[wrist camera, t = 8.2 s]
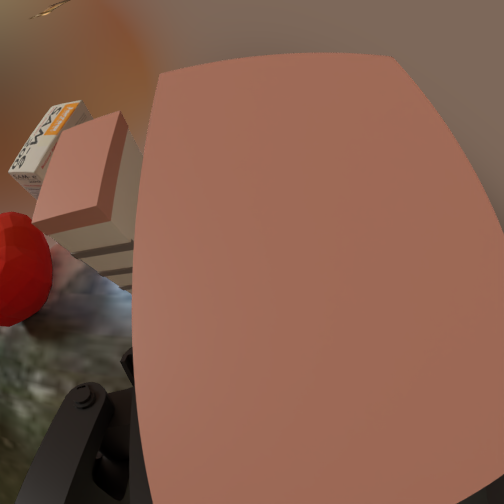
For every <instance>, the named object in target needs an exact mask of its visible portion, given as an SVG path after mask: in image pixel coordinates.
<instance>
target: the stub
mask: <svg viewBox="0 0 504 504" xmlns="http://www.w3.org/2000/svg"><path fill="white" fill-rule="evenodd" d="M132 345H133V365H134V380H135V392H136V403H137V412H138V421H139V429H140V436H141V443H142V449H143V455H144V461H145V467H146V472H147V477H148V482H149V487H150V492H151V496H152V501H153V504H457V503H458V502H460V501H462V500H464V499H466V498H467V497H469V496H471V495H472V494H474V493H476V492H477V491H479V490H481V489H482V488H484V487H485V486H487V485H488V484H490V483H492V482H493V481H494V480H496V479H497V478H499V477H500V476H502V475H503V474H504V234H503V231H502V229H501V226H500V224H499V221H498V219H497V217H496V214H495V212H494V210H493V208H492V205H491V203H490V201H489V199H488V197H487V195H486V193H485V191H484V189H483V187H482V185H481V183H480V181H479V179H478V177H477V175H476V173H475V171H474V169H473V168H472V166H471V164H470V162H469V161H468V159H467V157H466V156H465V154H464V152H463V150H462V149H461V147H460V145H459V144H458V142H457V141H456V139H455V137H454V136H453V134H452V133H451V131H450V130H449V128H448V127H447V125H446V124H445V122H444V121H443V119H442V118H441V116H440V115H439V114H438V112H437V111H436V109H435V108H434V107H433V105H432V104H431V103H430V101H429V100H428V99H427V97H426V96H425V95H424V93H423V92H422V91H421V90H420V88H419V87H418V86H417V85H416V83H415V82H414V81H413V80H412V79H411V77H410V76H409V75H408V74H407V73H406V72H405V71H404V69H403V68H402V67H401V66H400V65H399V64H398V63H397V61H396V60H394V58H393V57H390V56H381V55H369V54H353V53H293V54H277V55H264V56H254V57H246V58H238V59H231V60H224V61H218V62H212V63H207V64H202V65H196V66H191V67H187V68H182V69H178V70H173V71H169V72H165V73H162V74H160V75H159V79H158V84H157V88H156V93H155V97H154V101H153V106H152V111H151V116H150V121H149V126H148V132H147V137H146V143H145V149H144V156H143V162H142V169H141V176H140V184H139V193H138V202H137V211H136V222H135V235H134V250H133V272H132Z"/></svg>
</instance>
